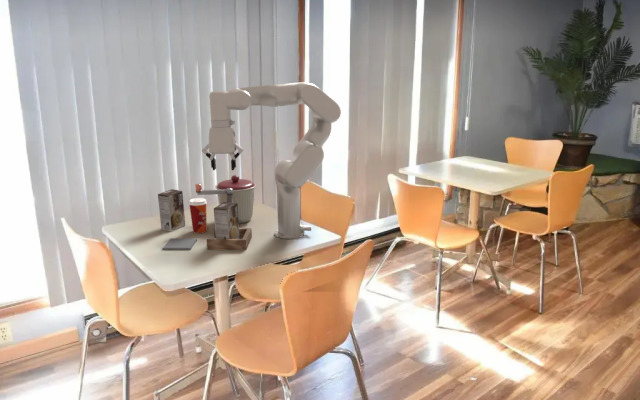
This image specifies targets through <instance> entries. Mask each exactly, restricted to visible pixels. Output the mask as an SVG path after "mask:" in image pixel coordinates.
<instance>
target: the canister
mask: <svg viewBox="0 0 640 400" xmlns="http://www.w3.org/2000/svg"><path fill="white" fill-rule="evenodd" d="M256 186H257V184H256V183H255V182H253V181H251V180H249V179H244V178H240V176H239V175H236V174H234V175H231V179H225V180H222V181H220V182H218V183H217V184H216V185H215V190H222V189H227V188H233V203H238V219H239V224H244V223H247V222H248V221H251V219H252V218H253V215H254V214H253V212H254V203H255V202H254V201H255V188H256ZM217 198H218V205H220V204H222V203H223V202H227V194H217Z"/></svg>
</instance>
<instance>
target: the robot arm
mask: <svg viewBox="0 0 640 400" xmlns="http://www.w3.org/2000/svg"><path fill="white" fill-rule="evenodd" d="M208 96H209V109H210V124H211V125H210V127H209V129H208V131H209V132H208V144H207V145H206V146H204V147H203V148H202V149H201V152H202V153H203V154H204V155H205V156H206V157H207V158H208V159H209V160H210V166H211V167H210V168H212V171H215V170H216V169H217V160H216V158H215V157H216V154H221V155H222V154H224V155H225V154H227V155H228V154H229V156H230V157H231V161H230V166H231V167H230V169H231V171H234V170H236V168H237V163H236V162H237V161H236V159H238V157H239V156H240V155H241V154H242V152H243V151H244V149H243V147H241V145H239V144H238V143H237V138H236V133H235V128H234V126H233V125H236V121H235V120H233V119H232V115H231V110H233V111H245V110H248V109H249V108H250V107H252V106H262V107H263V106H264V107H271V108H273V107H275V108H277V107H285V106H294V105H305V106H307V107H308V108H309V109H310V111H311V115H312V122H311V125H310V127H309V129H308V130H307V132H306V133H305V134H304V135H303V137H302V138H301V139H300V140H299V141H298V142H297V144H296V145H294V148H293V149H292V151H293V152H292V153H293V154H292V155H293V157H294V161H293V160H290V159H282V160H281V161H279V162H278V163H277V164H276V166H275V169H274V180H275V185H276V202H277V203H276V204H277V207H276V208H277V209H276V210H277V228H276V229H275V230H274V233H273V234H274V236H275V237H277V238H280V239H285V240H286V239H288V240H291V239H298V238H301V237H303V236H304V235H305V231H306V232H311V231H312V226H309V224H306V225H305V224H302V221H301V189H300V188H301V187H303V186H304V185H306V183H307V182H308V181H309V180H310V178H311V177H312V176H313V175H314V173H316V171H317V170H318V169H319V168H320V167H321V164H322V163H323V160H324V158H325V156H324V155H325V154H324V153H325V152H324V150H323V146H324V145H325V143H326V142H327V141H328V139H329V137H330V136H331V131H332V124H334V123H336V122H337V121H338V120H339V119H340V118H341V113H342V112H341V111H342V110H341V107H340V105H339V104H338V103H337V102H336V101H335V100H333V99H332V98H331V97H330V96H329V95H328V94H327V93H326V92H324V91H323V90H322V89H321V88H319V87H318V86H317V85H316V84H314V83H310V82H303V81H301V82H300V81H299V82H290V83H279V84H271V85H270V84H268V85H267V84H266V85H259V86H258V85H256V86H246V87H243V86H242V87H237V88H236V87H234V88H232V89H230V90H228V91H226V90H213V91H211V92H210V93H209V95H208ZM237 150H238V151H237ZM236 151H237V152H236ZM235 152H236V153H235Z"/></svg>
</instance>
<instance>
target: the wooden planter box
mask: <svg viewBox="0 0 640 400" xmlns="http://www.w3.org/2000/svg"><path fill="white" fill-rule="evenodd" d="M227 202H228V203H233V194H232V195H227ZM252 231H253V230H252V228H251V227H239V236H240V239H216V233H215V227H214V228H213V238H207V239H206V250H209V251H212V250H214V251H216V250H218V251H219V250H221V251H222V250H226V251H227V250H230V251H231V250H232V251H233V250H241V251H242V250H247V249H248V248H249V244H250V242H251V241H252V238H253V232H252Z"/></svg>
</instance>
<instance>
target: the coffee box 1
mask: <svg viewBox="0 0 640 400" xmlns="http://www.w3.org/2000/svg"><path fill="white" fill-rule="evenodd" d="M157 198H158V199H157V200H158V209H159V220H160V221H159V222H160V229H161V230H163V231H168V232H173V231H176V230H178V229H181V228H182V227H185V226H186V219H185V218H186V217H185V216H186V215H185V206H184V197H183V190H179V189H168V190H166V191H163V192H161V193H157Z"/></svg>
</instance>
